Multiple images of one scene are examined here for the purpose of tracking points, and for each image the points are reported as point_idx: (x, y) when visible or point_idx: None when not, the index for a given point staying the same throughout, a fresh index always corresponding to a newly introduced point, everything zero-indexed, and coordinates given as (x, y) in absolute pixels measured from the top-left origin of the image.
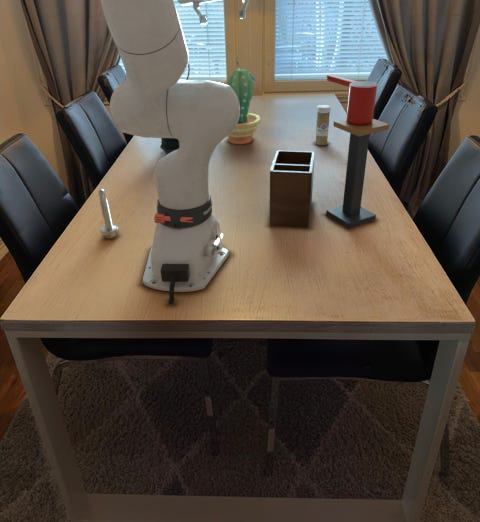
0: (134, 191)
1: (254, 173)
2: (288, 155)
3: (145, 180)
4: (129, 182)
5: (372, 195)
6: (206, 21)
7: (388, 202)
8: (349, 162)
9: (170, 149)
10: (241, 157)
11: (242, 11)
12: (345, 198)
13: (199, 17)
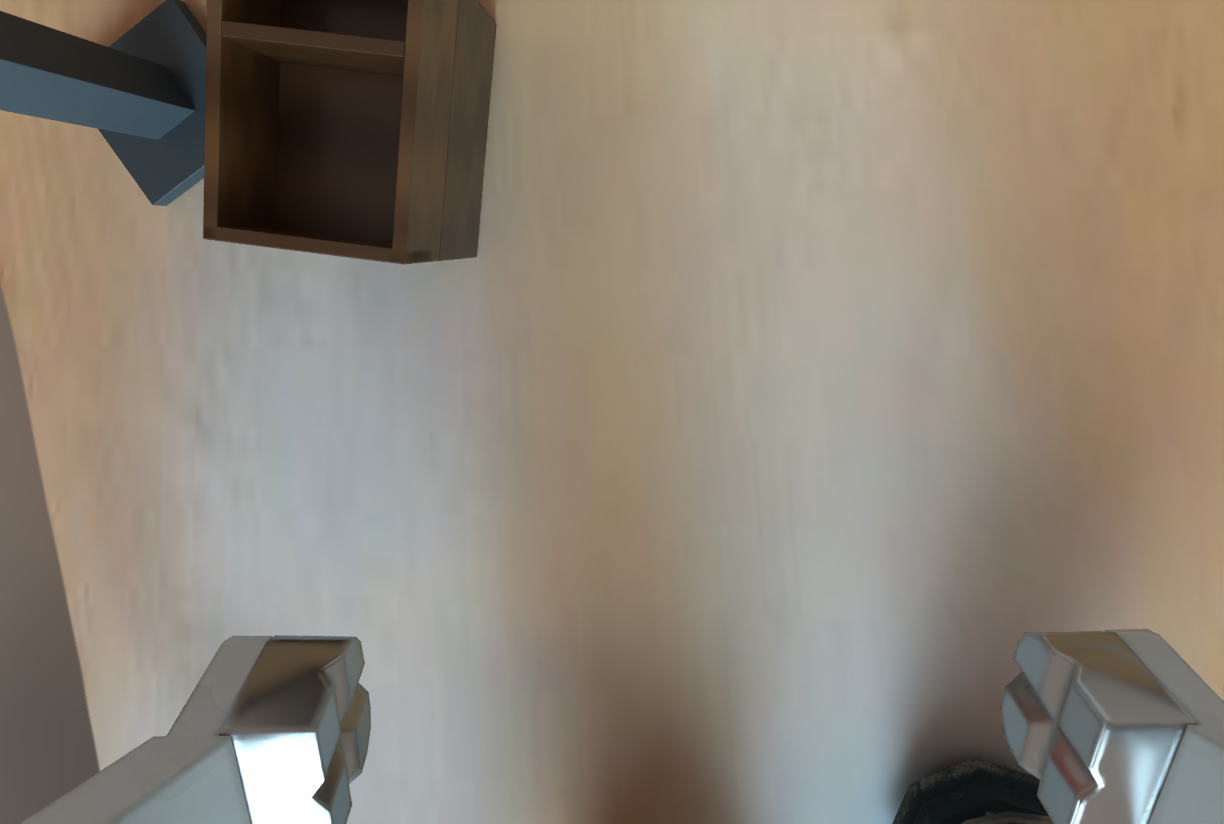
0: (1136, 364)
1: (580, 547)
2: (349, 241)
3: (1096, 485)
4: (1175, 465)
5: (83, 313)
6: (1023, 710)
7: (24, 247)
8: (20, 52)
9: (1011, 779)
10: (649, 729)
11: (240, 706)
12: (149, 89)
13: (1213, 698)
